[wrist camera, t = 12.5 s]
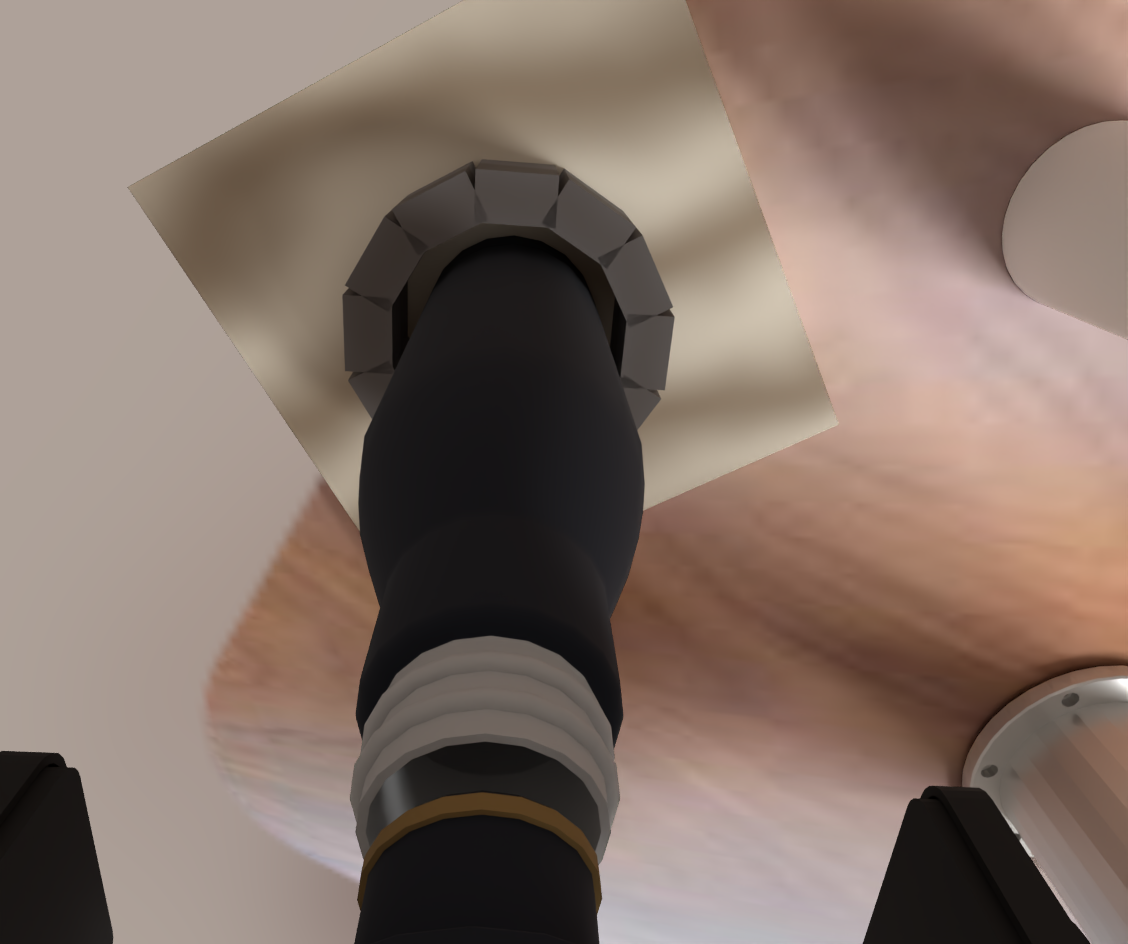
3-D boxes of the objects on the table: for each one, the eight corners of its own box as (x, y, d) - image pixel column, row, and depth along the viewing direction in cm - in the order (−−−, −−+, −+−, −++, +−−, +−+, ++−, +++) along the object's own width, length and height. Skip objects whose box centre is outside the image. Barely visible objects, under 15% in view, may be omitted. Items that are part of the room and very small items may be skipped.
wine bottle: (571, 213, 30) (1001, 1341, 3) (613, 375, 33) (1046, 1761, 6) (403, 262, 31) (-560, 1620, 3) (458, 418, 33) (160, 1889, 6)
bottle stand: (826, 411, 35) (876, 464, 30) (417, 592, 38) (401, 667, 33) (642, -94, 28) (667, -134, 23) (145, 183, 31) (71, 200, 26)
